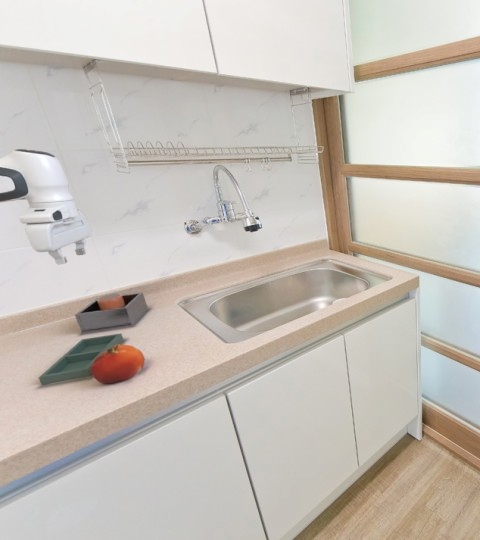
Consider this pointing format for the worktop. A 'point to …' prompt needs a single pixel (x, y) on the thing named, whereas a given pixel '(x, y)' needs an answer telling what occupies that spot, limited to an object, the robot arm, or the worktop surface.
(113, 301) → the cup
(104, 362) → the tomato
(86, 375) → the tray
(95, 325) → the basin
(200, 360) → the worktop surface
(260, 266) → the worktop surface
